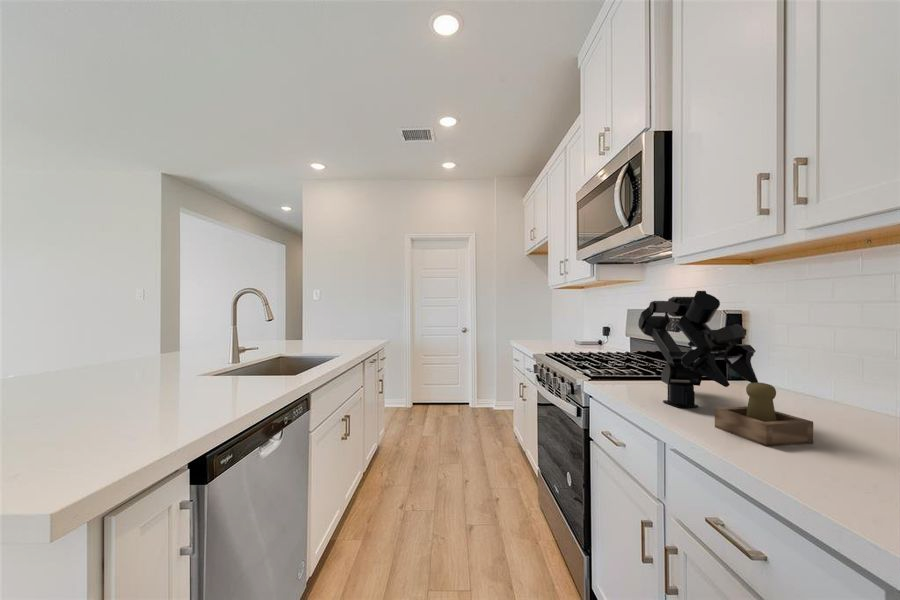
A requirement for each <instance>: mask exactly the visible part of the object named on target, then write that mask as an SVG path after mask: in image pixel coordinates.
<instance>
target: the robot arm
mask: <svg viewBox="0 0 900 600" xmlns="http://www.w3.org/2000/svg"><path fill="white" fill-rule="evenodd" d="M720 305H721V302H720V299H718V298H717V297H715V296H714V295H713V294H709V293H707V291H706V290H696V292H695V294H694V296H672V297H669V298H668V299H667V300H652V301H650V303H649V305H648V307H647V308H646V309H644V310H643V311H642V312H641V313H640V316H639V318H638V328H639V330H640V331H641V332H642V333H643V334H644V335H645V336H648V337H650V338H652V340H653V341H654V343H655V344H656V346H657V348H658V349H659V351H660V352H661V354H662V355H663V357H664V359H665V360H666V363H665V366H664V368H663V370H662V372H661V374H660V377H661V382H662V383H664V384H666V385H667V399H664V400H662V403H664V404H668V405H670V406H673V407H675V408H678V409H679V408H680V409H683V408H685V409H686V408H687V409H689V408H699V407H700V406H699V404H696V403H695V398H696V395H695V394H696V393H695V391H694V390H695V386H698V387H699V386H701V383H702V379H703V377H704V376H705V377H706V378H708V379H710V380H712V381H714V382H716V383H717V384H719V385H721V386H723V387H724V388H728V387H729V386H730V382H729V380H728V379H727V377H726V376H725V375H724V373H723V372H722V370H721V369H720V368H719V366H718V365H717V363H716V360H723V362H725V364H727V365H729V366H728V368H729V369H731V370H733V371H734V372H736V373H737V374H738V375H739V376H741V377H742V378H743V379H745V380H746V381H748V382H749V383H759V381H758V378H757V376H756V374H755V371H754V369H753V365H752V362H751V360H752V358H753V357H754V355H755V353H756V351H757V350H756V349H755V348H754V347H753V346H752V345H751V344H741V343H740V344H735V345H733V342H735V341H738V340H744V339H746V336H747V331H748V330H747V329H746V328H744V327H743V325H740V324H738V323H737V324H736V323H735V324H733V325H727V326H723V327H721V328H718V329H712V328H710V327H709V325H708V324H707V323H709V322H711V320H712V318H713V317H714V315H715V314H716V312H717V311H718V310H719V307H720ZM655 313H656V314H659V313H660V314H661V313H662V314H664V315H654V314H655ZM670 316H672V317H676V318H679V320H678V321H676V322H675V332H676V333H678V332H682V333H683V334H684V335H685V337H686V338H687V339H688V343H687V345H688V346H689V349H688V350H687V351H684V350H683V351H682V349H681V348H680V347H679V346H678V344H677V343H676V341H675V340H674V338H673V336H671V334H670V332H669V331H668V327H669V325H670V322H671V318H670ZM731 346H732V347H731ZM730 347H731V348H730ZM728 348H730V349H728Z"/></svg>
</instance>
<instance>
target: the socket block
mask: <svg viewBox="0 0 900 600" xmlns="http://www.w3.org/2000/svg"><path fill="white" fill-rule="evenodd" d="M747 408H748V405H746V406H731V407H729V406H728V407H714V428H717V429H719V430H721V429H722V430H721V431H724V432H727V433H729V432H730V434H732V435H734V434H735V435H734V436H738V437H740V438H742V437H743V438H742V439H745V440H747V441H751V442H754V443H756V444H757V445H758V444H759V445H761V446H764V447H776V446H790V445H791V446H792V445H802V444H813V443H814V421H813V420H809V419H806V418H803V417H802V418H801V417H798V416H794V415H792V414H791V415H790V414H788V413H783V412H779V411H776V410H775V415H776V421H772V422H763V421H760V420H757V419H754V418H751V417H747V416H746V414H747Z"/></svg>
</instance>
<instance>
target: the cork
mask: <svg viewBox="0 0 900 600" xmlns="http://www.w3.org/2000/svg"><path fill="white" fill-rule="evenodd" d="M745 388H746V389H745V391H746V394H747V396H748V397H749V398H748V403H747V406H748V408H747V414H746V416H747V417H751V418H754V419H757V420H760V421H763V422H772V421H776V415H775V411H776V410H775V406H774V400H775V398H776V395H777V390H776V388H775V387H774V386H773V385H772V384H768V383H764V382H758V383H751V382H749V383H748V384H747V385H746V387H745Z"/></svg>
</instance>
